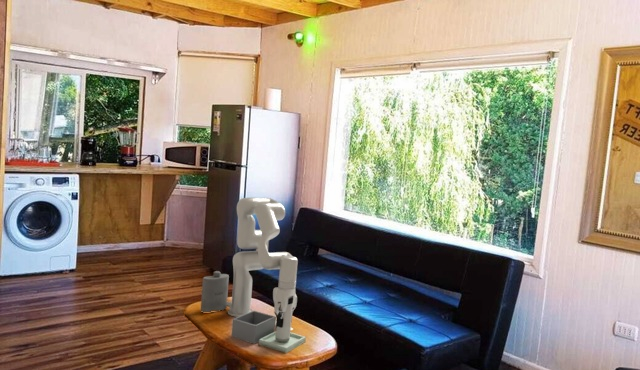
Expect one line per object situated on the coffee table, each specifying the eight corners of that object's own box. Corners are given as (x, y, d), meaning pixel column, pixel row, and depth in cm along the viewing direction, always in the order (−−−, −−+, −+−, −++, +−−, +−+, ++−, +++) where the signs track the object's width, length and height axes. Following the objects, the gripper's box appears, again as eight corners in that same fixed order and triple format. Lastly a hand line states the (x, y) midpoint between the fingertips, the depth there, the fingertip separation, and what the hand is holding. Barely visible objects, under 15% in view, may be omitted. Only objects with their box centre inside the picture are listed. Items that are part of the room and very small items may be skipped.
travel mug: (291, 337, 223) (296, 294, 221) (286, 343, 217) (290, 297, 215) (279, 334, 225) (283, 291, 223) (273, 339, 219) (277, 295, 217)
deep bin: (231, 336, 223) (232, 319, 222) (252, 327, 236) (253, 310, 236) (254, 343, 217) (255, 325, 216) (274, 333, 231) (276, 316, 230)
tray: (258, 344, 217) (259, 339, 217) (279, 333, 231) (279, 329, 231) (286, 353, 210) (286, 348, 210) (305, 341, 224) (305, 336, 224)
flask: (205, 314, 247) (208, 275, 246) (198, 311, 251) (201, 272, 250) (229, 309, 259) (232, 271, 257) (222, 306, 263) (225, 268, 261)
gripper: (290, 278, 228) (287, 317, 229) (268, 286, 213) (265, 327, 214) (304, 282, 224) (301, 321, 226) (283, 290, 209) (280, 332, 211)
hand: (283, 324), depth 220 cm, fingers closed on travel mug, 6 cm apart
